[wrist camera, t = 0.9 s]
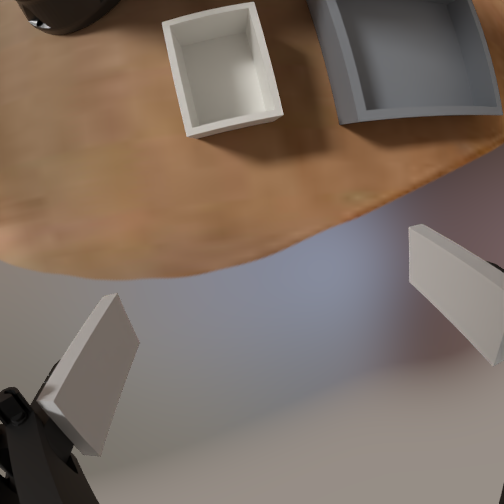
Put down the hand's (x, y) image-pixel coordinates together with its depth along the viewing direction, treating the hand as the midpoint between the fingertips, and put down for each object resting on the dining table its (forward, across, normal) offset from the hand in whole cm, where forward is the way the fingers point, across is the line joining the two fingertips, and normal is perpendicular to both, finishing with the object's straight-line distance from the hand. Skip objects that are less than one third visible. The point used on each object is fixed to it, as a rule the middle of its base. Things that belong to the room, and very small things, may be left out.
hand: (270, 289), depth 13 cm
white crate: (+21, 0, +13) cm, 25 cm away
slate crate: (+21, +22, +14) cm, 34 cm away
